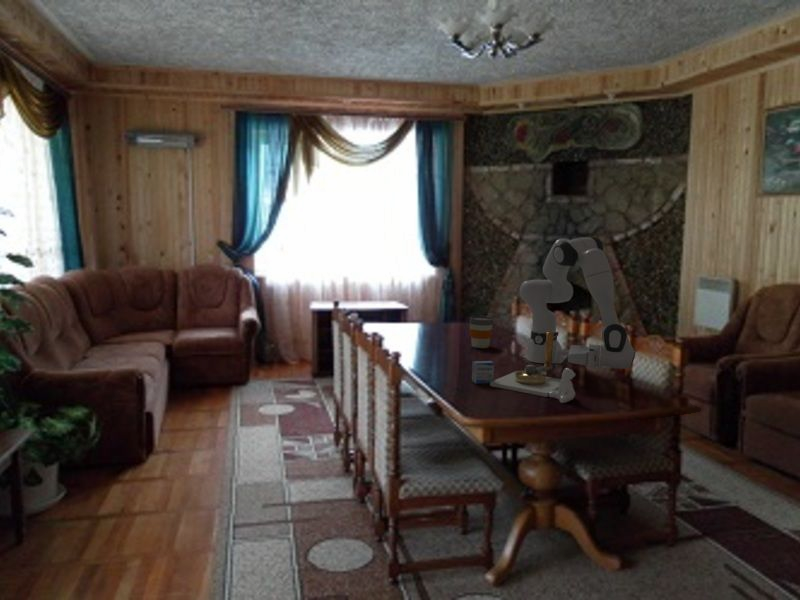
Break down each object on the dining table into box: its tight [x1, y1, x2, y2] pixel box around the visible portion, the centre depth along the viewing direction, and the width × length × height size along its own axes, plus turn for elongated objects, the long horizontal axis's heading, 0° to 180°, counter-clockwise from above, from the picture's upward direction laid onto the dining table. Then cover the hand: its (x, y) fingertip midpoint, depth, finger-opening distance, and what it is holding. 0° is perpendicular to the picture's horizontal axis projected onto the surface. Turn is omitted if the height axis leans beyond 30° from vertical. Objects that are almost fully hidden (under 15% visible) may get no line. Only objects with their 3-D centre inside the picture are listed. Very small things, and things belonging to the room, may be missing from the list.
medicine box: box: [471, 360, 495, 385], centre depth 250 cm, size 8×4×9 cm, turn 105°
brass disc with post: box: [514, 332, 554, 385], centre depth 250 cm, size 22×12×18 cm, turn 137°
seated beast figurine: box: [548, 367, 577, 404], centre depth 229 cm, size 10×9×12 cm
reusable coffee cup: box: [469, 316, 494, 349], centre depth 323 cm, size 13×13×15 cm
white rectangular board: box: [489, 364, 562, 398], centre depth 248 cm, size 24×24×8 cm
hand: (558, 352), depth 257 cm, fingers closed
